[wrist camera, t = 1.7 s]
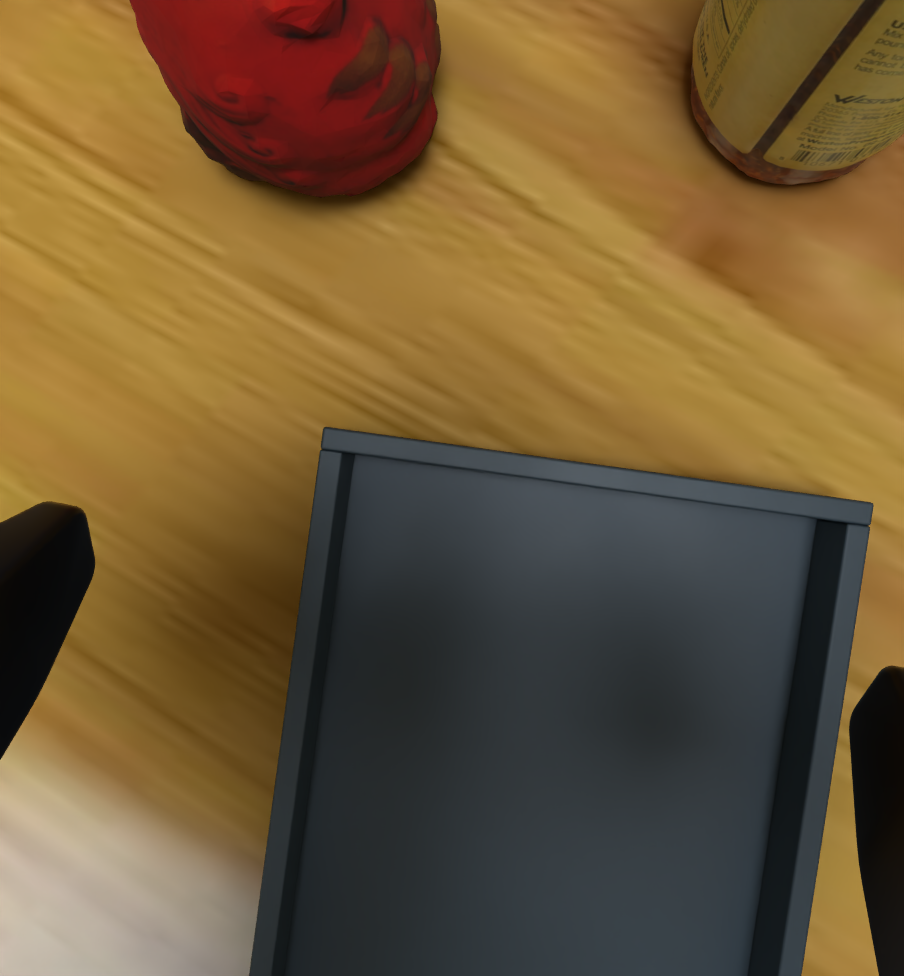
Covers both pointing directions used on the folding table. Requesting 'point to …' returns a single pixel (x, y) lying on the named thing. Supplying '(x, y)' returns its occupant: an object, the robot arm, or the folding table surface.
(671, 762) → the tray
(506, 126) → the folding table surface
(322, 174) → the red clay folk toy
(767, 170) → the sauce bottle
